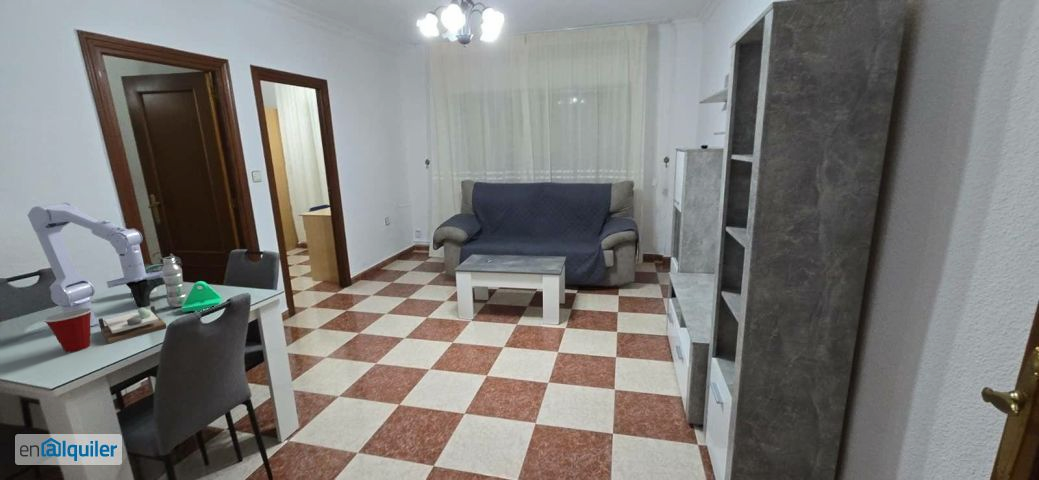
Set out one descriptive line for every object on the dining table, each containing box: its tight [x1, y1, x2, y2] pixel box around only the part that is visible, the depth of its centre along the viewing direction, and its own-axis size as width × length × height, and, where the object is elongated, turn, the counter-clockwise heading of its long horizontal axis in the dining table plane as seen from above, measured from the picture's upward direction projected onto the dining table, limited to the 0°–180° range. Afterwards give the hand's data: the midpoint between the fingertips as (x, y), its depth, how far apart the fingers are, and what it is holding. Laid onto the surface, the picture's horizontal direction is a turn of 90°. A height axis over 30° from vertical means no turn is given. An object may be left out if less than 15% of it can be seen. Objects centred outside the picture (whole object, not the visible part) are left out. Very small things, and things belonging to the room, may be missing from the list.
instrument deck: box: [104, 307, 159, 333], centre depth 147 cm, size 15×12×3 cm
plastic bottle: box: [161, 256, 188, 308], centre depth 166 cm, size 6×7×20 cm
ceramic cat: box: [130, 251, 183, 309], centre depth 174 cm, size 20×6×20 cm, turn 169°
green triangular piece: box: [181, 280, 223, 313], centre depth 165 cm, size 12×8×10 cm, turn 120°
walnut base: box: [97, 305, 167, 344], centre depth 147 cm, size 16×15×5 cm
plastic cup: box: [43, 307, 93, 353], centre depth 133 cm, size 11×11×12 cm
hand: (141, 301), depth 148 cm, fingers closed
